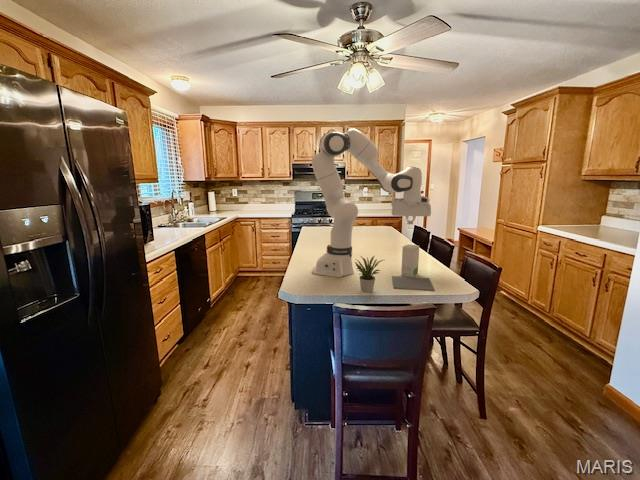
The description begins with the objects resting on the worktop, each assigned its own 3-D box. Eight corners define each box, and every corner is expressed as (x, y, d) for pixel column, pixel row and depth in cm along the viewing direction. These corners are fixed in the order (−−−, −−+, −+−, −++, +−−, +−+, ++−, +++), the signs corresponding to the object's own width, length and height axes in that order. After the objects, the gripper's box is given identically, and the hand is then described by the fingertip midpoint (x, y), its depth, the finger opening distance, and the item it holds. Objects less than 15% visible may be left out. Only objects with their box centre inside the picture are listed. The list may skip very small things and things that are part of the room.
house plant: (381, 284, 143) (382, 251, 140) (388, 295, 130) (390, 259, 126) (351, 284, 143) (352, 251, 139) (355, 296, 129) (356, 259, 126)
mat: (393, 288, 138) (393, 287, 138) (392, 277, 154) (392, 275, 154) (434, 291, 135) (434, 289, 135) (428, 279, 150) (429, 278, 150)
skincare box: (412, 278, 152) (414, 248, 149) (400, 275, 156) (401, 246, 152) (418, 274, 158) (420, 245, 155) (406, 271, 162) (407, 243, 159)
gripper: (391, 198, 158) (390, 224, 161) (432, 199, 154) (430, 225, 157) (391, 197, 164) (390, 222, 167) (430, 198, 160) (428, 223, 163)
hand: (410, 224), depth 162 cm, fingers closed
